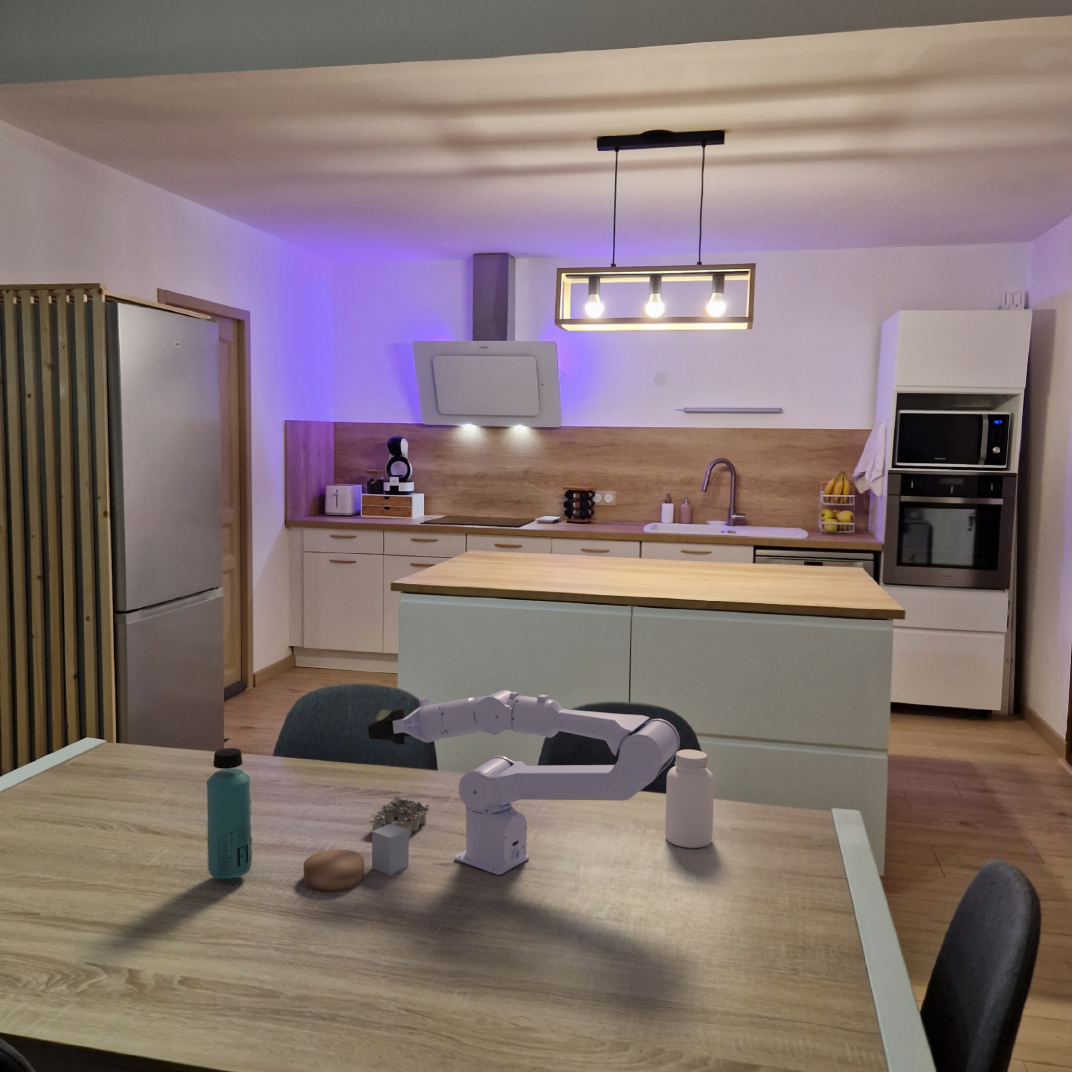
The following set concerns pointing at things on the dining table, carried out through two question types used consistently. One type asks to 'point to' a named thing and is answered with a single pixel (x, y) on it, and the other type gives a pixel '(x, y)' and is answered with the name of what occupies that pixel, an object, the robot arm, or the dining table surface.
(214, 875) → the beverage bottle
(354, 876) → the pedestal
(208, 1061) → the dining table surface
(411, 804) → the egg carton
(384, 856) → the block
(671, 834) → the pill bottle
